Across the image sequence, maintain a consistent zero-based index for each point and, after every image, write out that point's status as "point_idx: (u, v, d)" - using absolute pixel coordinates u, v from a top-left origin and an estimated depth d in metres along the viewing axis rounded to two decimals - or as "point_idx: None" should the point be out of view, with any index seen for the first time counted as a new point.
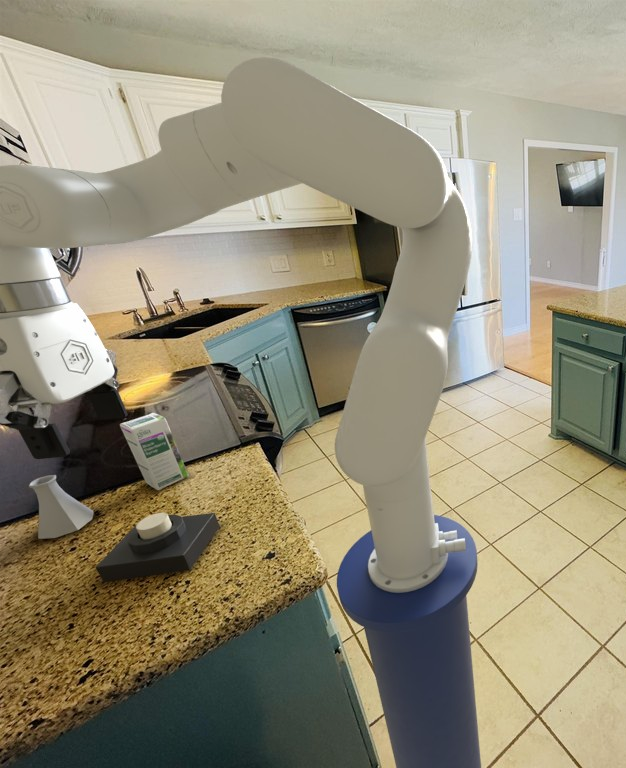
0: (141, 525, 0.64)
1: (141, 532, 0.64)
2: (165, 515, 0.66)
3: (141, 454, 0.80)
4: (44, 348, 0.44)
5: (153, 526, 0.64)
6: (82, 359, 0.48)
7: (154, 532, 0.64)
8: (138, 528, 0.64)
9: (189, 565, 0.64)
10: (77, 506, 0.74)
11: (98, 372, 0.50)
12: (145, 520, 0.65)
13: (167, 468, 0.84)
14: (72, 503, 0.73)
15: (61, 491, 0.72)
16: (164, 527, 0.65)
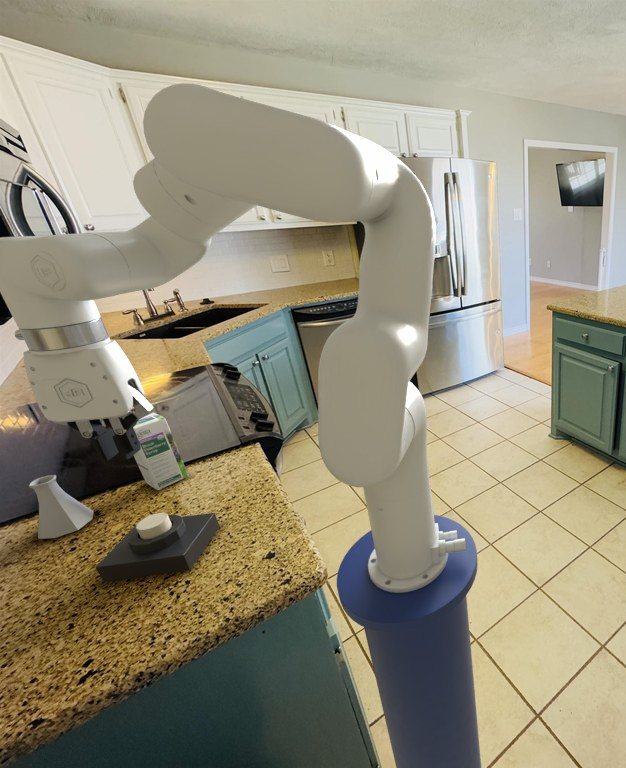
0: (141, 525, 0.64)
1: (141, 532, 0.64)
2: (165, 515, 0.66)
3: (141, 454, 0.80)
4: (39, 380, 0.52)
5: (153, 526, 0.64)
6: (81, 395, 0.54)
7: (154, 532, 0.64)
8: (138, 528, 0.64)
9: (189, 565, 0.64)
10: (77, 506, 0.74)
11: (98, 409, 0.55)
12: (145, 520, 0.65)
13: (167, 468, 0.84)
14: (72, 503, 0.73)
15: (61, 491, 0.72)
16: (164, 527, 0.65)
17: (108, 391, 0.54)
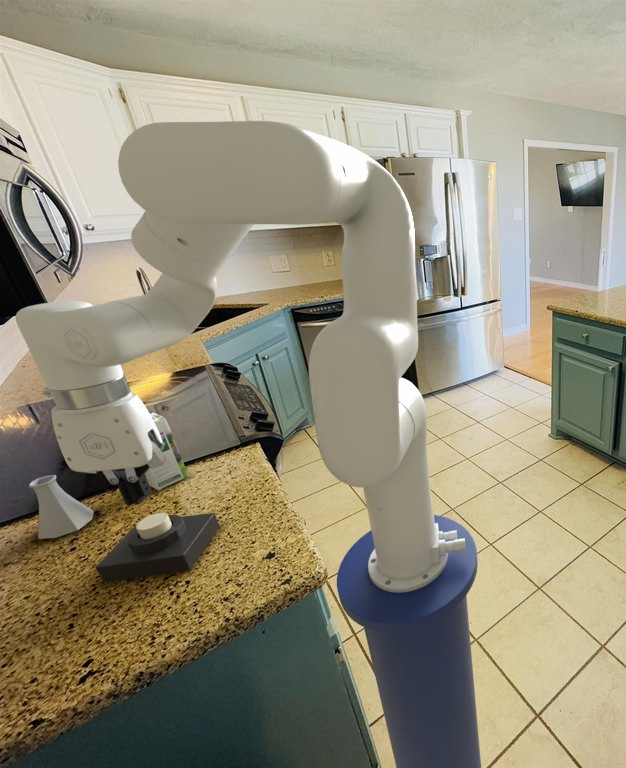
0: (141, 525, 0.64)
1: (141, 532, 0.64)
2: (165, 515, 0.66)
3: None
4: (66, 434, 0.56)
5: (153, 526, 0.64)
6: (104, 448, 0.57)
7: (154, 532, 0.64)
8: (138, 528, 0.64)
9: (189, 565, 0.64)
10: (77, 506, 0.74)
11: (120, 460, 0.58)
12: (145, 520, 0.65)
13: (167, 468, 0.84)
14: (72, 503, 0.73)
15: (61, 491, 0.72)
16: (164, 527, 0.65)
17: (130, 444, 0.58)
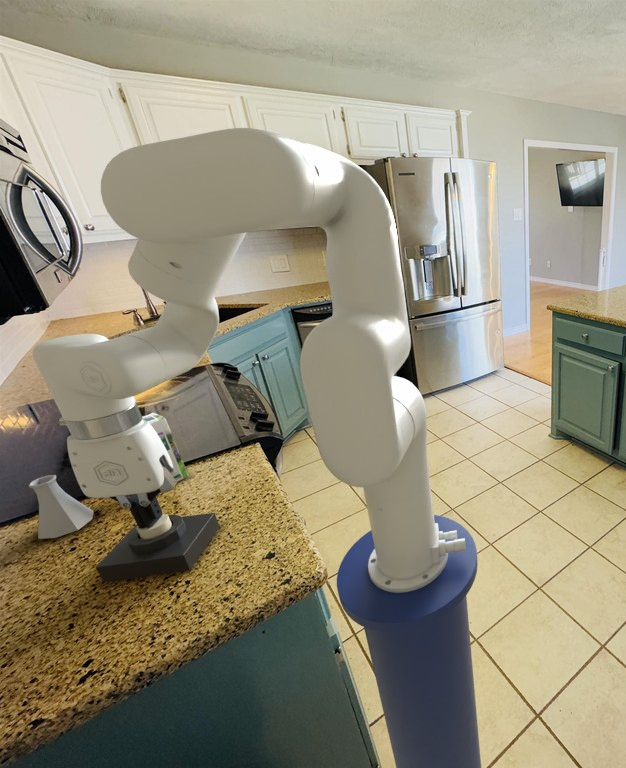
0: None
1: (141, 533, 0.64)
2: (165, 516, 0.67)
3: None
4: (81, 463, 0.57)
5: (154, 527, 0.64)
6: (117, 475, 0.59)
7: (155, 533, 0.64)
8: (139, 529, 0.64)
9: (189, 565, 0.64)
10: (77, 506, 0.74)
11: (133, 486, 0.60)
12: None
13: None
14: (72, 503, 0.73)
15: (61, 491, 0.72)
16: (164, 528, 0.65)
17: (142, 470, 0.59)
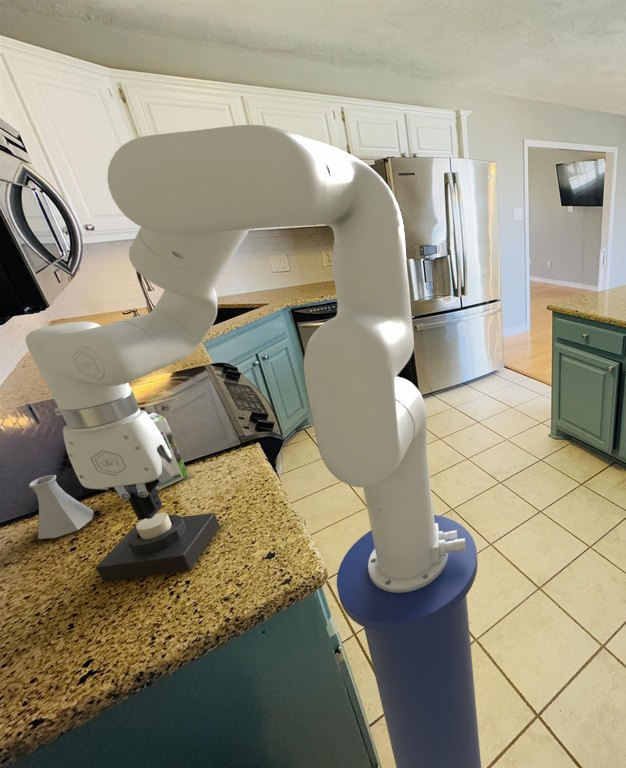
0: (141, 525, 0.64)
1: (141, 532, 0.64)
2: (165, 515, 0.66)
3: None
4: (77, 453, 0.57)
5: (153, 526, 0.64)
6: (115, 465, 0.58)
7: (154, 532, 0.64)
8: (138, 528, 0.64)
9: (189, 565, 0.64)
10: (77, 506, 0.74)
11: (130, 476, 0.59)
12: (145, 520, 0.65)
13: None
14: (72, 503, 0.73)
15: (61, 491, 0.72)
16: (164, 527, 0.65)
17: (140, 460, 0.59)
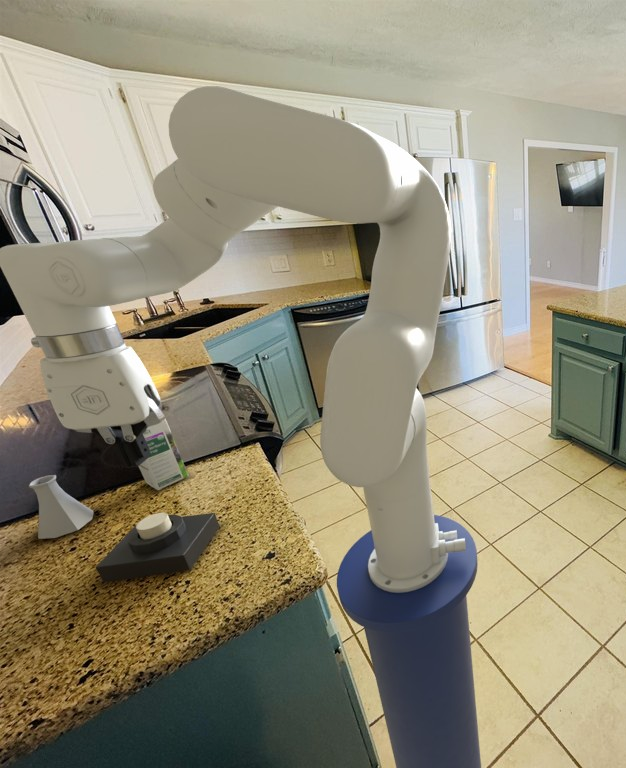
0: (141, 525, 0.64)
1: (141, 532, 0.64)
2: (165, 515, 0.66)
3: None
4: (56, 387, 0.52)
5: (153, 526, 0.64)
6: (98, 402, 0.54)
7: (154, 532, 0.64)
8: (138, 528, 0.64)
9: (189, 565, 0.64)
10: (77, 506, 0.74)
11: (115, 416, 0.54)
12: (145, 520, 0.65)
13: (167, 468, 0.84)
14: (72, 503, 0.73)
15: (61, 491, 0.72)
16: (164, 527, 0.65)
17: (125, 397, 0.54)
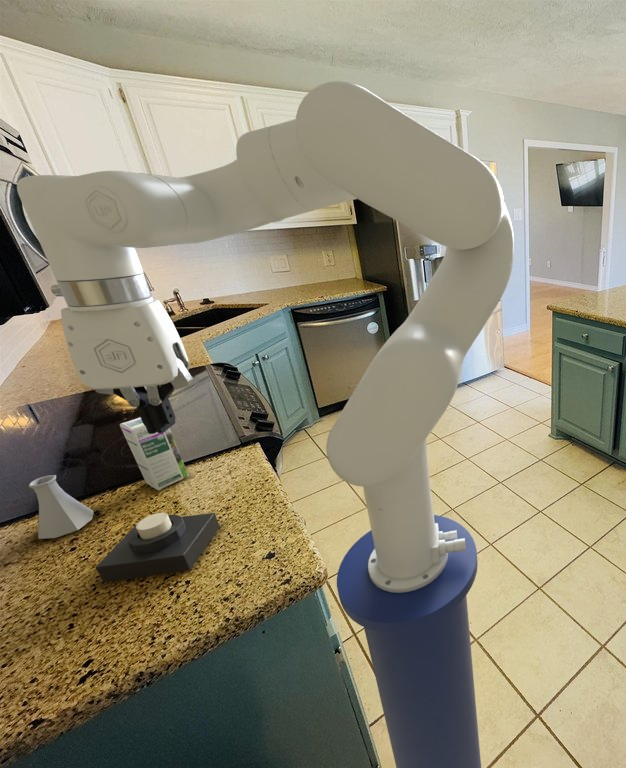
0: (141, 525, 0.64)
1: (141, 532, 0.64)
2: (165, 515, 0.66)
3: (141, 454, 0.80)
4: (78, 341, 0.47)
5: (153, 526, 0.64)
6: (123, 359, 0.49)
7: (154, 532, 0.64)
8: (138, 528, 0.64)
9: (189, 565, 0.64)
10: (77, 506, 0.74)
11: (141, 375, 0.50)
12: (145, 520, 0.65)
13: (167, 468, 0.84)
14: (72, 503, 0.73)
15: (61, 491, 0.72)
16: (164, 527, 0.65)
17: (152, 354, 0.49)
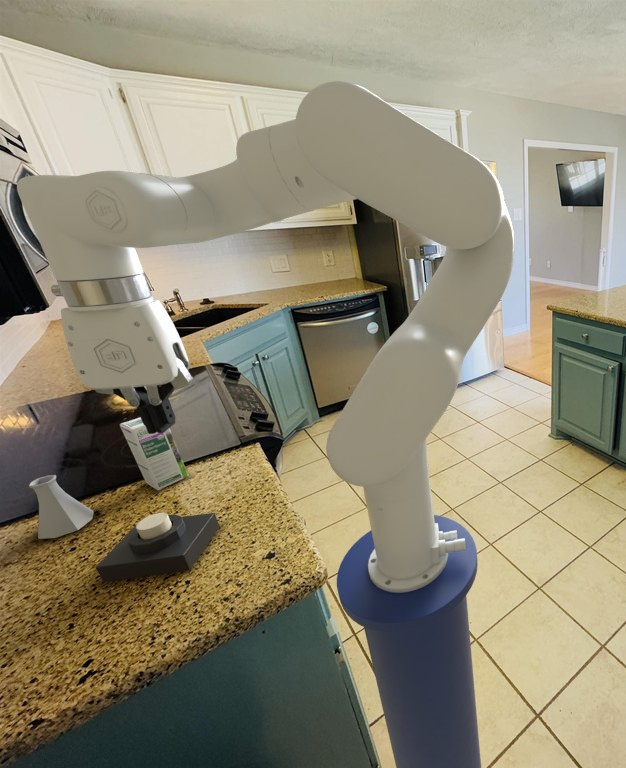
0: (141, 525, 0.64)
1: (141, 532, 0.64)
2: (165, 515, 0.66)
3: (141, 454, 0.80)
4: (78, 340, 0.47)
5: (153, 526, 0.64)
6: (123, 359, 0.49)
7: (154, 532, 0.64)
8: (138, 528, 0.64)
9: (189, 565, 0.64)
10: (77, 506, 0.74)
11: (141, 375, 0.50)
12: (145, 520, 0.65)
13: (167, 468, 0.84)
14: (72, 503, 0.73)
15: (61, 491, 0.72)
16: (164, 527, 0.65)
17: (153, 354, 0.49)
